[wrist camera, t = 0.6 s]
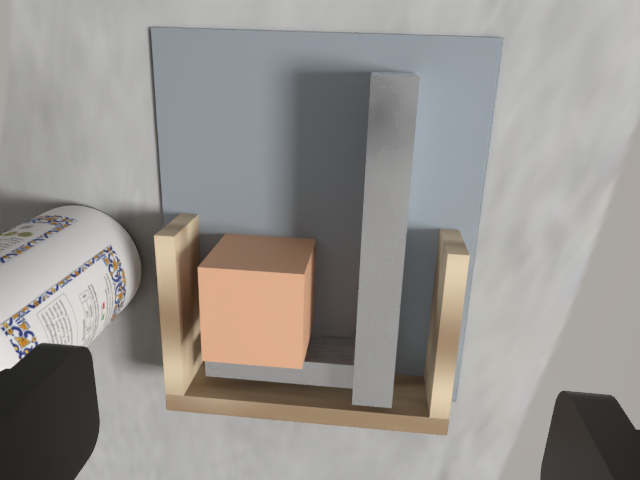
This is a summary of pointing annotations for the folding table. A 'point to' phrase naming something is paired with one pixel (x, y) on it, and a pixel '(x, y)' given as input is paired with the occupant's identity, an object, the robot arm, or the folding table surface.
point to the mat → (324, 152)
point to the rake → (366, 261)
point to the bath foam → (63, 279)
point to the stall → (298, 399)
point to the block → (257, 300)
